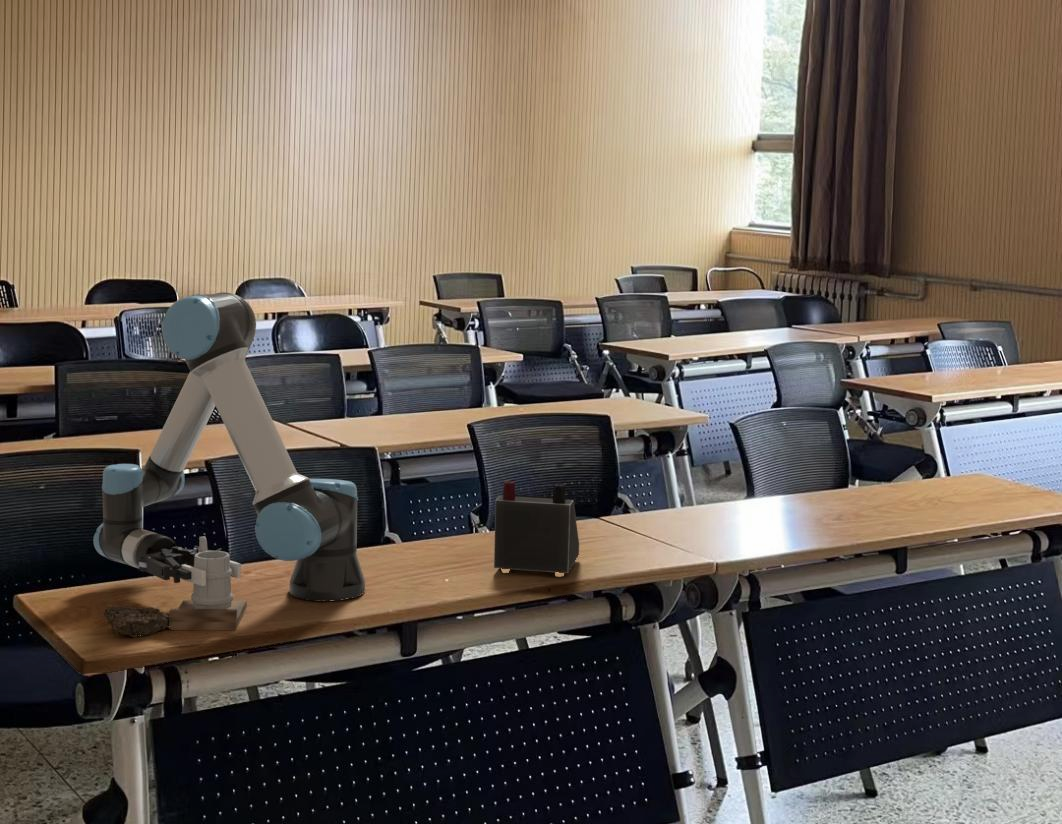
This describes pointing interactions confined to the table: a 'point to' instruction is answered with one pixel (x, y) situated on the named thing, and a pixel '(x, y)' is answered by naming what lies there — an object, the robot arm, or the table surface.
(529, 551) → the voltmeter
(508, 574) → the table surface
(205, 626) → the rest board
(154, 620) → the concrete sample
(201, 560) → the mug
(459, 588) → the table surface
